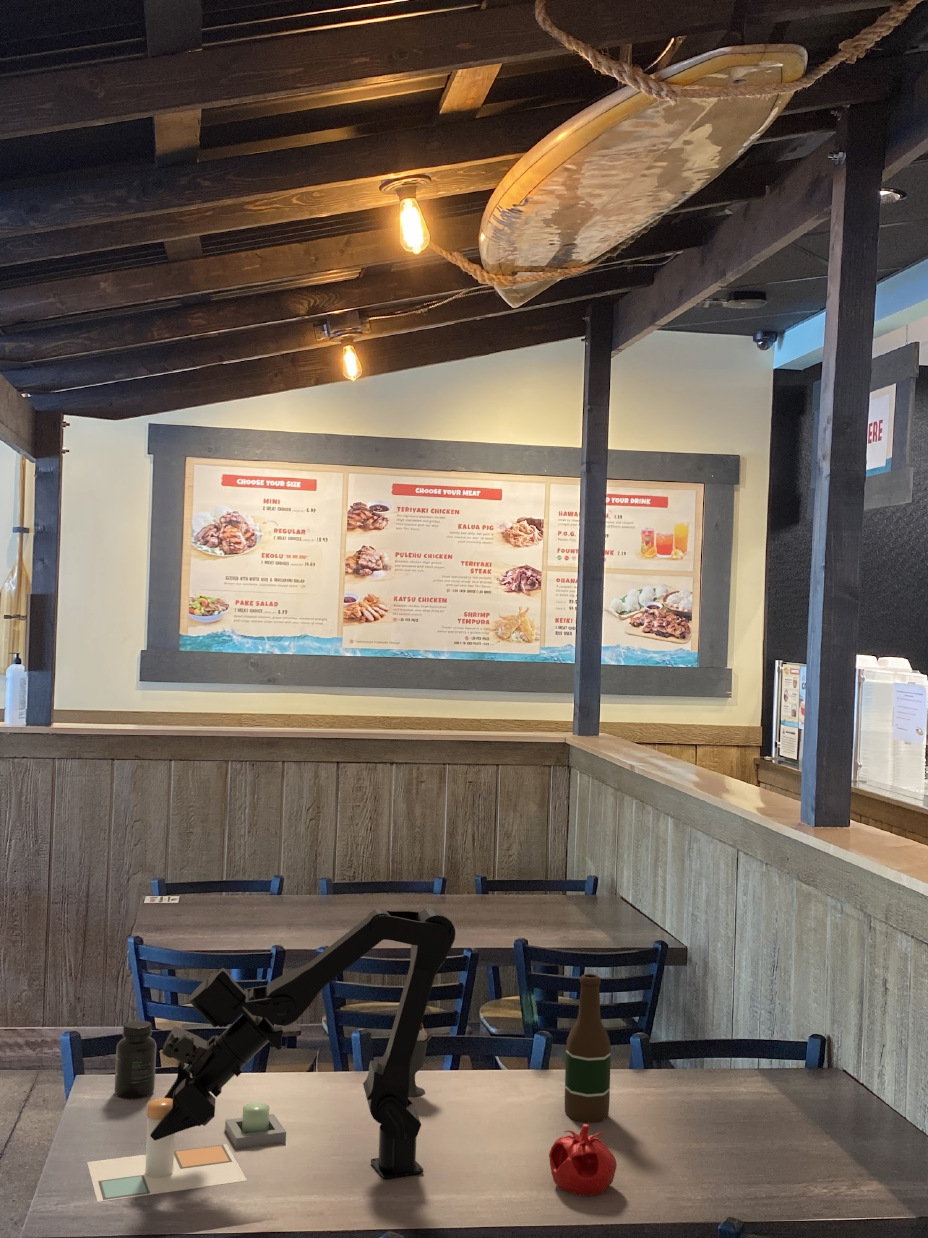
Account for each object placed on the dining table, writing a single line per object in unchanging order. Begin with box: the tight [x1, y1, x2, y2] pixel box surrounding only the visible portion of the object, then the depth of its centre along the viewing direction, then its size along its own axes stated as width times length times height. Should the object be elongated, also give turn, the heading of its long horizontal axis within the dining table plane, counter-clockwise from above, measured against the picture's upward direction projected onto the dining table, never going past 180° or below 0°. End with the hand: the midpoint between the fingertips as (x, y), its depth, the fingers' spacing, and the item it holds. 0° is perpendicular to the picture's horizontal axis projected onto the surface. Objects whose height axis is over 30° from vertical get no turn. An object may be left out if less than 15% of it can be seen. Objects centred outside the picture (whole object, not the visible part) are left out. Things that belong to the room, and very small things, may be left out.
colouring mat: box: [86, 1143, 248, 1203], centre depth 172 cm, size 14×21×1 cm, turn 113°
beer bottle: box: [564, 973, 612, 1124], centre depth 203 cm, size 8×8×24 cm
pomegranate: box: [548, 1123, 618, 1197], centre depth 174 cm, size 10×10×9 cm
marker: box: [145, 1097, 176, 1178], centre depth 172 cm, size 4×4×10 cm
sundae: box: [408, 1023, 433, 1098], centre depth 211 cm, size 7×7×15 cm
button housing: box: [224, 1113, 287, 1149], centre depth 186 cm, size 8×8×2 cm
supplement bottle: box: [114, 1020, 157, 1100], centre depth 206 cm, size 7×7×12 cm
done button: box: [242, 1102, 270, 1134], centre depth 187 cm, size 4×4×4 cm
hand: (154, 1125), depth 172 cm, fingers open, 9 cm apart
